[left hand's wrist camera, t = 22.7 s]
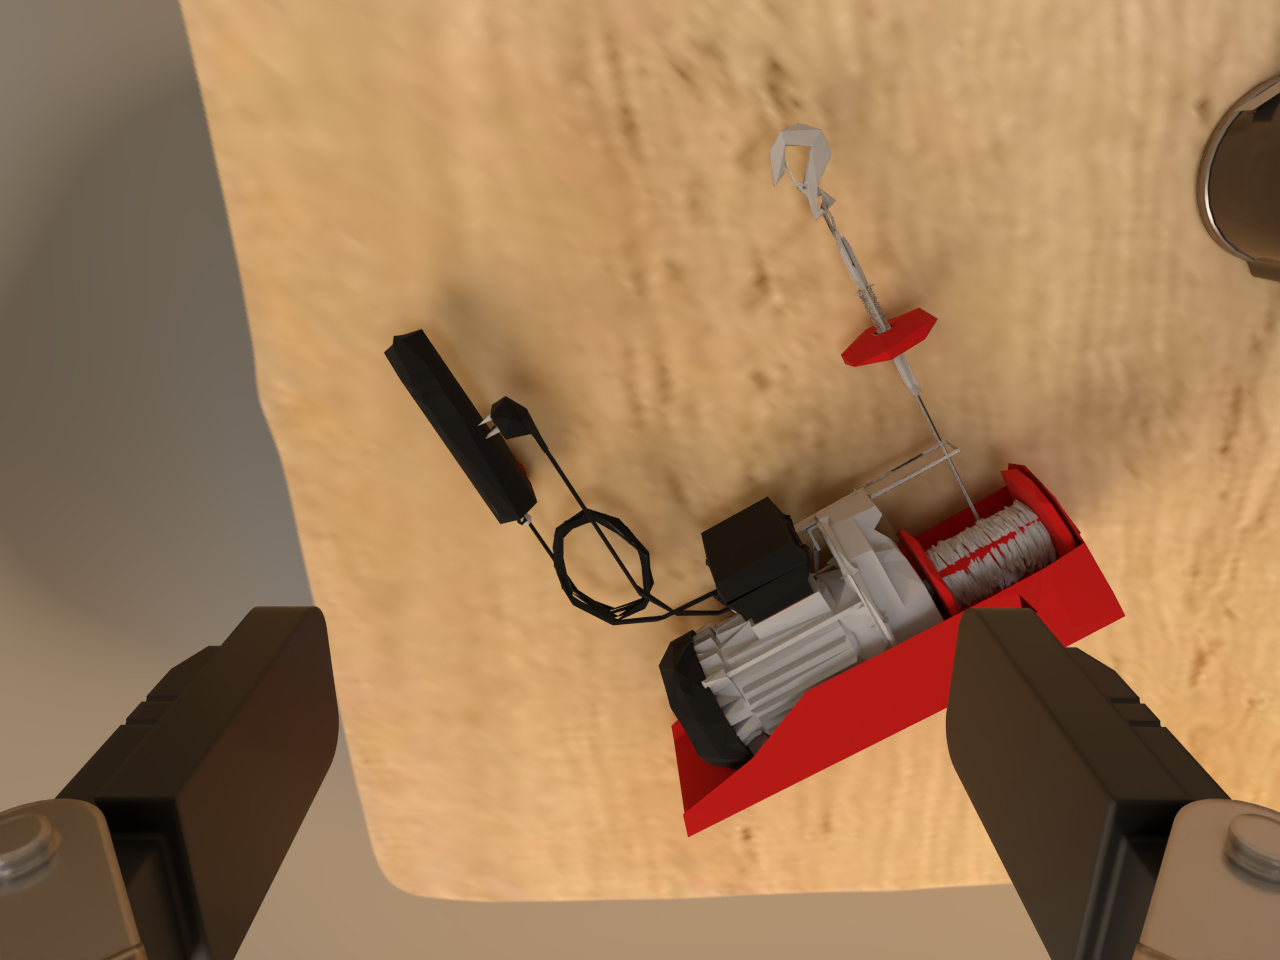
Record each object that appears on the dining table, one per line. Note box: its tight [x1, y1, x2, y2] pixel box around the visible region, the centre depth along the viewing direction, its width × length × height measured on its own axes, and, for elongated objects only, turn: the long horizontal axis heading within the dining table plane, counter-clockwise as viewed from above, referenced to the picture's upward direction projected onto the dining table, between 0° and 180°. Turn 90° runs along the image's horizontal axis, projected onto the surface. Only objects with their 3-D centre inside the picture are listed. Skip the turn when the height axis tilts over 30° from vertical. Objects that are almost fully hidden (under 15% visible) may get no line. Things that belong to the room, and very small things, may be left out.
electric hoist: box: [384, 124, 1125, 837], centre depth 47 cm, size 10×27×30 cm
